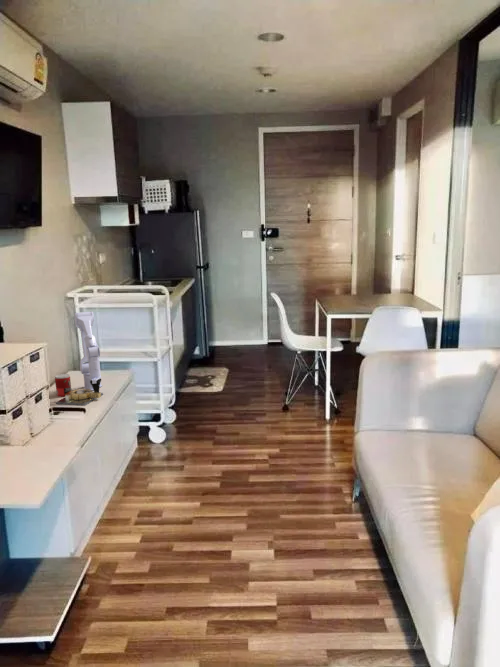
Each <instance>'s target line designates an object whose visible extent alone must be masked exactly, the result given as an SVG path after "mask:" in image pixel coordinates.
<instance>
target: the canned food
mask: <svg viewBox="0 0 500 667" xmlns="http://www.w3.org/2000/svg"><path fill="white" fill-rule="evenodd" d="M54 382H55V391H56V396H57V397H60V398H65V395H69V392H71V391H72V383H71V375H70V374H69V373H68V374H67V373H62V374H56V375H55V376H54Z"/></svg>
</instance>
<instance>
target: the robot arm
mask: <svg viewBox="0 0 500 667" xmlns="http://www.w3.org/2000/svg"><path fill="white" fill-rule="evenodd" d="M73 319H74V324H75V328H77V329H79V332H80V337H81V345H82V353H83V357H82V358H81V359H80V360H79V369H80V373H81V375H83V382H84V387H83V388H82V389H90V390H91V391H93V392H100V388H102V387H103V385H102V379H101V378H102V375H101V365H100V364H101V363H100V356H101V350H100V346H99V344H98V343H97V339H96V335H93V332H92V331H93V330H92V326H93V325H94V321H95V316H94V312H93V310H92V311H82V312H75V313H74V314H73Z"/></svg>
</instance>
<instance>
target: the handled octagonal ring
mask: <svg viewBox="0 0 500 667" xmlns="http://www.w3.org/2000/svg"><path fill="white" fill-rule="evenodd" d="M77 390H84V392H85V393H81V394H77V392H76V391H77ZM101 393H102V392H100V391H99V392H94V391H93V390H90V389H83V388H80V389H75V390H71V392H69V395H71V399H74V400H80V399H86V398H97V399H99V398H102V396H101Z"/></svg>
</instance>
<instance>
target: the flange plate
mask: <svg viewBox="0 0 500 667" xmlns="http://www.w3.org/2000/svg"><path fill="white" fill-rule="evenodd" d="M76 390H77V391H76V392H77V394H81V393H85V392H84V390H78V389H76ZM103 395H104V393H103V392H101V397H102V396H103ZM97 399H98V398H86V399H80V400H74V399H71V395H65V397H62V398H61V399H59V400H57V401H56V402H55V404H56V405H67V406H68V405H69V406H70V405H72V406H87V405H88V404H90V403H91V402H93V401H95V400H97Z"/></svg>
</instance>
